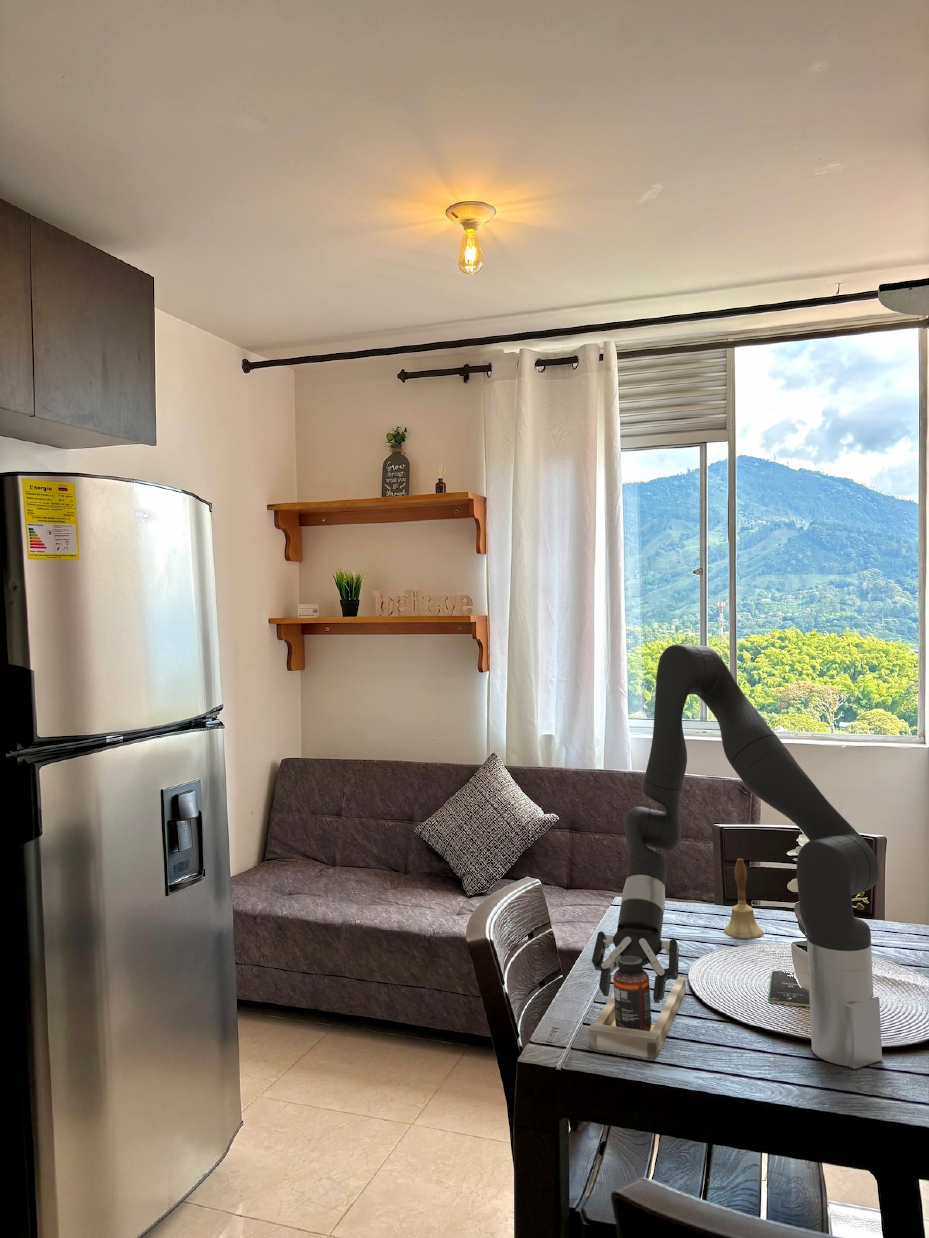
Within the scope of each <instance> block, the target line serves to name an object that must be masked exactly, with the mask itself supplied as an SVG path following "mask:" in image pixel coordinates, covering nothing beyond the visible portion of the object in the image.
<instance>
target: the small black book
mask: <svg viewBox="0 0 929 1238" xmlns="http://www.w3.org/2000/svg"><path fill="white" fill-rule="evenodd" d="M784 972H785V973H784ZM784 972H783V971H781V970H774V971H772V972H771V973H772V974H771V973H770V979H771V981H770V980H769V981H770V982H769V987H770V988H769V989H770V990H769V989H768V995H767V996H768V997H767V1001H768V1000H769V1001H770V1002H773V1003H782V1004H789V1005H788V1006H790V1005H796V1006H795V1007H798V1006H808V1007H807V1008H809V1006H810V1000H809V993H808V992H807V991H804V990H803V989H801V988H800V987H799V985H798V983H797V981H796V979H795V978H794V976H793V977H792V976H791V977H790V976H787V975H791V974H790V973H786V972H787V971H784ZM794 973H795V972H793V973H792V974H793V975H794ZM771 975H772V976H771ZM769 1001H768V1002H769ZM770 1002H769V1003H770ZM773 1003H772V1004H773Z"/></svg>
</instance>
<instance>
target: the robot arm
mask: <svg viewBox="0 0 929 1238" xmlns="http://www.w3.org/2000/svg"><path fill="white" fill-rule="evenodd" d="M721 657H722V656H720V655H719V653H718V652H716V651H715V650H714V649H713V648H710V647H709V646H706V645H700V644H686V643H683V644H682V643H677V644H672V645H670V646H668V647H666V649H664V650H663V652H662V653H661V655H660V657H659V659H658V663H657V670H656V679H655V680H656V681H655V697H654V713H653V714H654V715H653V728H652V729H653V732H652V739H651V740H652V741H651V745H650V746H651V747H650V753H649V756H648V757H649V758H648V760H647V761H648V762H647V764H646V765H647V766H646V771H645V774H644V779H643V783H642V792H643V794H644V795H645V796H646V797H648V798H649V799H651V800H652V801H654V802H657V803H658V804H661V805H662V806H663V807H664V809H665V811H661V810H658V809H652V808H649V807H645V806H638V805H637V806H634V807H632V808H631V809H630V810H628V812H627V813H626V816H625V819H624V834H625V839H626V844H627V845H626V846H627V852H628V853H627V854H628V855H627V856H628V861H627V862H628V864H627V872H626V877H625V883H624V886H623V889H622V895H621V901H620V908H619V909H620V910H619V916H618V922H617V928H616V932H615V934H614V935H609V934H608V935H607V934H605V932H604V931H598V932H597V934H596V935H597V936H596V940H595V943H594V949H593V953H592V957H591V963H592V964H593V967H594V969H595V970H596V971H600V975H599V976H600V978H599V983H598V986H599V991H600V992H601V993H602V995H603V997H609V995H610V990H611V989H610V988H611V981H612V975H611V974H612V973H613V972H614V971H616V969H617V968H619V967H618V959H619V958H620V957H623V956H637V957H639V958H641V959H642V965H643V967H646V965H648V964H649V965H650V967H651V969H652V970H653V972H654V973H655V976H654V984H653V985H654V986H653V995H652V999H653V1001H654V1003H655V1004H660V1002H661V1001H663V1000H664V998H665V993H666V992H665V990H666V983H667V981H669V980H674V981H676V979H677V978H678V977H679V956H680V951H679V950H680V948H679V944H678V941H677V939H675V938H672V939H670V940H667V941H666V940H662V939H661V938H662V930H663V922H664V915H665V914H664V913H665V909H666V905H665V904H666V881H667V873H668V862H667V860H666V858H665V857H664V856H662V855H663V854H660V853H658V852H657V851H655V850H653V849H656V850H660V851H665V852H671V851H673V850H674V849H676V848H677V846H678V845H679V844H680V841H681V837H682V828H681V827H682V826H681V825H682V824H681V815H680V801H681V800H680V799H681V793H682V787H683V783H684V780H685V776H686V775H685V774H686V770H687V763H688V752H687V751H688V750H687V744H686V740H685V735H684V730H683V713H684V708H685V705H686V701H687V699H688V695H696V696H697V697H698V698H699V699H701V700H702V702H703V703H704V704H705V705H706V706H707V707H708V709H709V710H710V711H711V713H712V715H714V717H715V719H716V721H717V723H718V727H719V730H720V736H721V737H720V738H721V742H722V748H723V752H724V755H725V757H726V760H727V761H728V763H729V764H730V765H731V767H732V769H733V770H734V772H735V773H736V774H737V776H738V777H739V778H740V780H741V781H742V782H743V784H744V785H745V786H746V787H747V789H748V790H750V792H751V793H753V794H754V795H755V796H756V797H757V798H759V799H760V800H761V801H762V802H764V803H766V804H767V805H769V807H771V808H772V809H774V810H776V811H777V812H779V813H780V814H782V815H783V816H785V817H786V818H788V819H789V820H790V821H791V822H793V823H794V825H796V827H798V828H799V829H800V830H801V832H802V833H803V834H804V836H805V837H806V838H807V839H808V842H806V843H805V844H804V845H802V846H801V848H800V849H799V852H798V854H797V858H796V859H797V860H796V881H797V893H798V903H799V913H800V917H801V920H802V923H803V925H804V926H805V927H804V928H805V930H806V931H805V932H806V946H807V947H806V949H807V953H806V954H807V974H808V977H809V1000H810V1008H809V1017H810V1018H809V1020H810V1038H811V1050H812V1053H813V1054H815V1056H817V1057H818V1058H819V1059H822V1060H824V1061H826V1062H829V1063H832V1064H835V1065H841V1066H845V1067H848V1068H850V1069H853V1070H856V1069H857V1070H858V1069H860V1068H863V1067H865V1066H868V1065H871V1064H874V1063H878V1062H879V1061H882V1060H883V1052H882V1051H883V1050H882V1049H883V1047H882V1028H881V1027H882V1026H881V1025H882V1024H881V1009H880V1008H881V1006H880V1005H881V1003H880V997H879V996H877V995H875V994H874V982H873V980H874V979H873V976H874V975H873V958H872V957H873V955H872V954H873V953H872V936H871V935H872V934H871V933H872V932H871V928H870V926H869V924H868V923H867V922H865V921H864V920H863V919H861V918H858V917H855V915H854V908H853V907H854V906H853V897H852V896H854V895H858V894H861V893H863V892H867V891H869V890H871V889H872V888H873V887H874V886H876V884H877V882H878V880H879V875H880V868H879V863H878V860H877V856H876V855H875V853H874V851H873V850H872V848H871V846H870V845H869V843H867V841H866V840H865V839H864V838H863V836H862V835H861V834H859V832H858V830H856V829H855V828H854V827H853V826H852V825H851V824H850V823H849V822H848V821H847V819H845V817H843V816H842V815H841V814H840V813H839V812H838V811H837V809H835V807H833V805H832V804H831V803H830V802H829V800H828V799H827V798H826V797H825V795H824V794H822V792H821V791H820V790H819V787H817V786H816V784H815V783H814V782H813V781H812V779H810V776H808V775H807V773H806V772H805V771H804V769H803V768H802V767H801V766H800V765H799V763H798V762H797V760H796V759H795V758H794V756H793V755H792V754H791V752H790V751H789V750H788V749H787V747H786V746H785V745H784V743H783V742H782V741H781V740H780V738H779V737H778V735H777V734H776V733H775V732H774V731H773V730H772V729H771V727H770V726H769V725H768V724H767V722H766V721H765V719H764V718H763V717H762V715H761V714H760V713H759V711H757V709H756V707H754V705H753V704H752V703H751V701H750V700H749V699H748V698H747V696H746V695H745V693H744V692H743V691H742V689H741V687H740V685H739V684H738V682H737V681H736V679H735V677H734V676H733V675H732V673H731V671H730V670H729V668H728V666H727V664H726V663H725V661H724V660H723V659H722V658H721ZM651 848H652V849H651ZM612 944H613V945H614V947H615V948H614V949H613V950H612V951H611V952H610V953H609V956H608V957H607V958H605V953H606V949H609V948H610V946H611V945H612ZM663 950H664V951H665V953H666V955H667V956H668V967H667V968H663V966H662V965H661V963H660V960H659V959H658V957H657V956H659V954H660V953H661V952H662V951H663ZM604 958H605V960H604Z"/></svg>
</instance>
